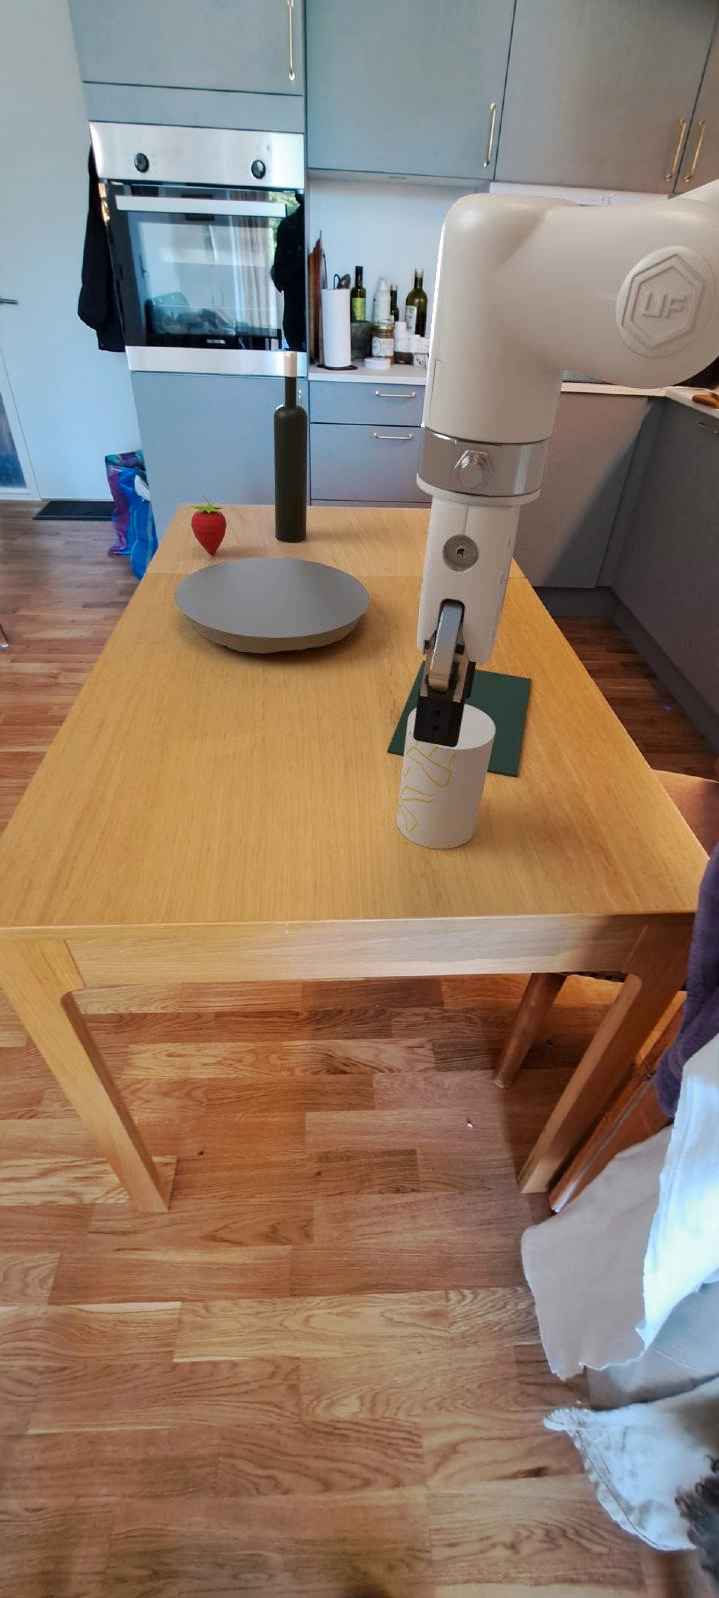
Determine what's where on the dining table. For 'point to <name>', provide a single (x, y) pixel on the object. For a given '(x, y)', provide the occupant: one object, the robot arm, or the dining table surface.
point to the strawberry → (209, 527)
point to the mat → (496, 699)
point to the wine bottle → (290, 460)
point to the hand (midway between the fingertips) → (443, 715)
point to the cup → (444, 783)
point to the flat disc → (271, 603)
